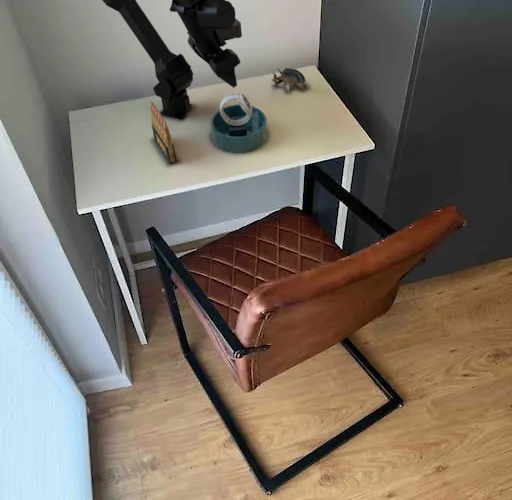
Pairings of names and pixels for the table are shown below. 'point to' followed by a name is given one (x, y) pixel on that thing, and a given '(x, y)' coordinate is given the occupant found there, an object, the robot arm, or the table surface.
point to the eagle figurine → (290, 78)
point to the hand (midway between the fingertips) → (227, 78)
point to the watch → (238, 123)
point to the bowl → (244, 143)
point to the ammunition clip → (162, 134)
